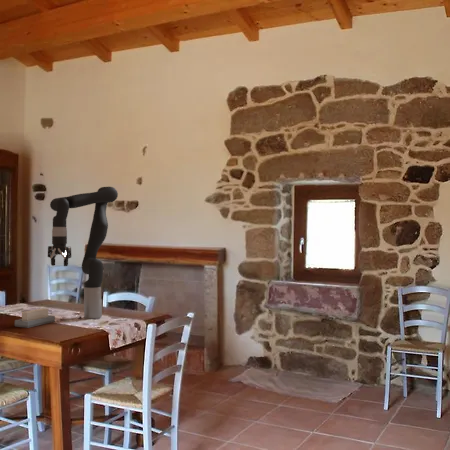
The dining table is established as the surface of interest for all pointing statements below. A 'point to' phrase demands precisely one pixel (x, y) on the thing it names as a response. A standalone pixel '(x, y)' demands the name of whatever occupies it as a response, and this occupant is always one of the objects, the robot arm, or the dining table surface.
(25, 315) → the beige rectangular block
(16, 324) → the grey flat block
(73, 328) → the dining table surface
